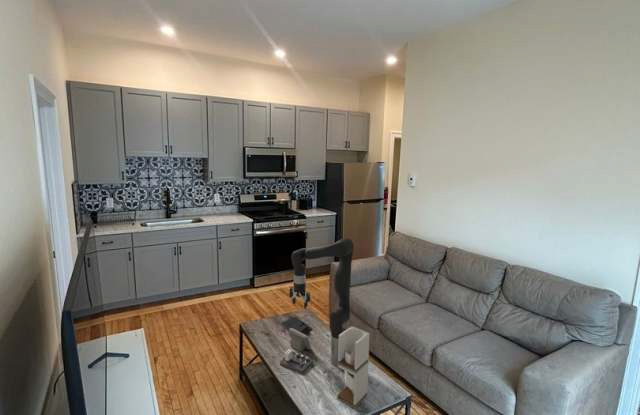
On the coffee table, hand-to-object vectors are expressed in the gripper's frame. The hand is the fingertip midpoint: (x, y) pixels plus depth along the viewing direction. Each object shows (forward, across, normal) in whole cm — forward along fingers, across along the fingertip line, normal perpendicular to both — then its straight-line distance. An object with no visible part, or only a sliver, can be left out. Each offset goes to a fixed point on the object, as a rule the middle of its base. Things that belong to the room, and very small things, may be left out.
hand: (299, 305), depth 210 cm
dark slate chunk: (+29, +16, -18) cm, 38 cm away
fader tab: (+26, -4, +17) cm, 31 cm away
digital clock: (+28, 0, 0) cm, 28 cm away
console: (+28, -8, +15) cm, 33 cm away
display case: (+28, -48, +22) cm, 60 cm away
